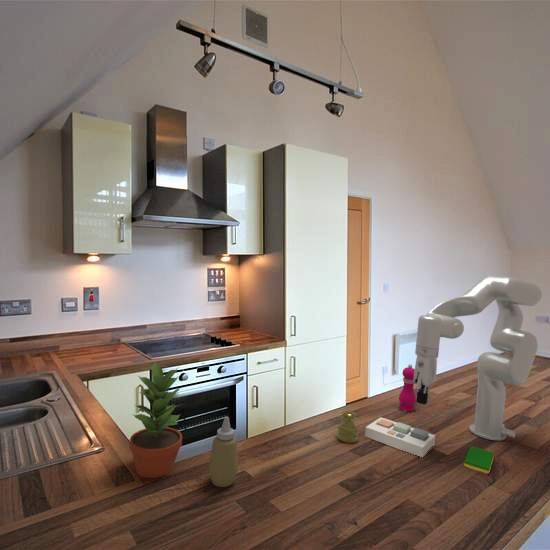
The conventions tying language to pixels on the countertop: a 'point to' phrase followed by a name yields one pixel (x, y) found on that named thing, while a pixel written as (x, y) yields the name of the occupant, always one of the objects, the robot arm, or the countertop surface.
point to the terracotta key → (385, 423)
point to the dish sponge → (479, 459)
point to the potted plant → (156, 428)
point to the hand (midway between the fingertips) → (421, 402)
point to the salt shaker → (348, 428)
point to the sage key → (402, 428)
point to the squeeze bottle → (224, 456)
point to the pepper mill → (407, 390)
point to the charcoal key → (419, 434)
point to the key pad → (399, 438)
